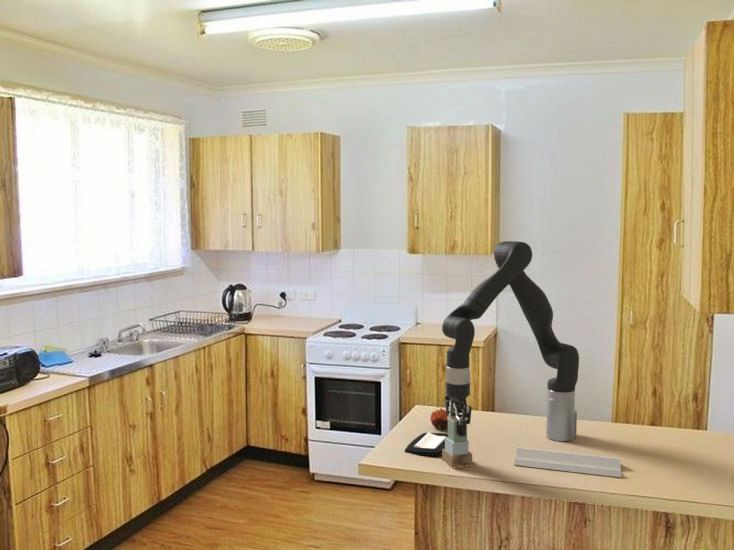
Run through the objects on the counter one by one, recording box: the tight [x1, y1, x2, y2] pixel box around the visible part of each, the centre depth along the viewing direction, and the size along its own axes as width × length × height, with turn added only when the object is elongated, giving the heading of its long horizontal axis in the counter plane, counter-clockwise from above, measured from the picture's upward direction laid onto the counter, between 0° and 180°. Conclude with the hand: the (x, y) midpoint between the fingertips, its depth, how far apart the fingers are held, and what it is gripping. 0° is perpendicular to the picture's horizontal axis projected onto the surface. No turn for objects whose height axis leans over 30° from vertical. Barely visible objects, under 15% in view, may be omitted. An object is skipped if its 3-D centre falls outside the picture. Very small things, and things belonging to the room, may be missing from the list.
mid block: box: [445, 437, 470, 456], centre depth 206 cm, size 6×6×4 cm
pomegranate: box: [429, 407, 449, 431], centre depth 238 cm, size 7×7×10 cm
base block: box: [441, 449, 473, 469], centre depth 206 cm, size 7×7×4 cm
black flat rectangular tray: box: [404, 432, 448, 456], centre depth 222 cm, size 20×3×14 cm
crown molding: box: [513, 446, 622, 478], centre depth 204 cm, size 31×12×4 cm, turn 71°
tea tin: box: [447, 415, 468, 443], centre depth 205 cm, size 5×5×7 cm
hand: (457, 432), depth 205 cm, fingers open, 5 cm apart
